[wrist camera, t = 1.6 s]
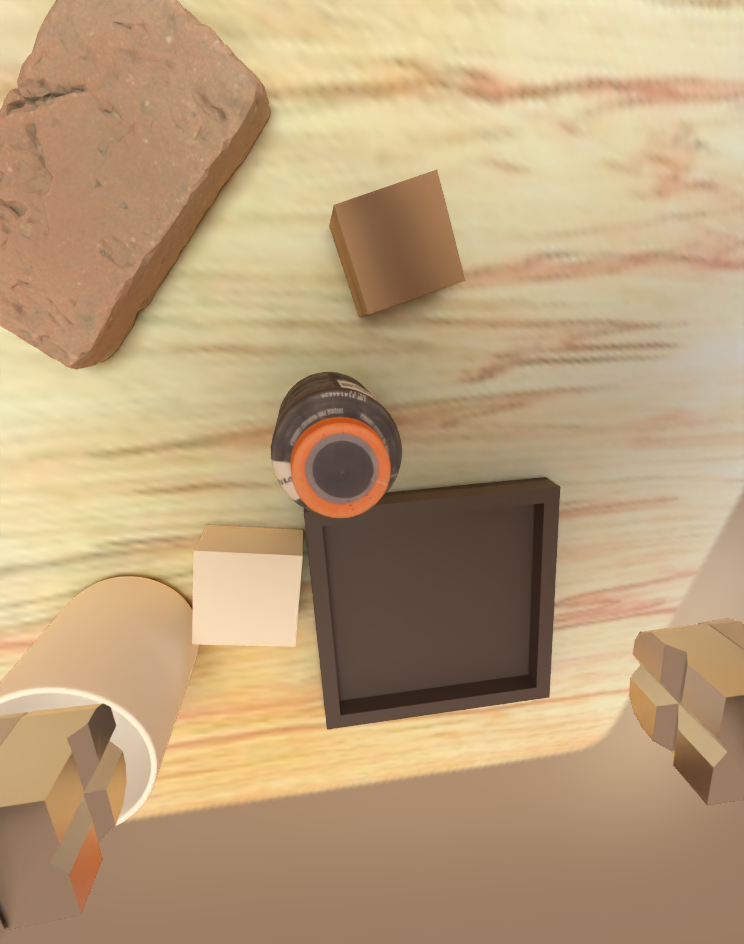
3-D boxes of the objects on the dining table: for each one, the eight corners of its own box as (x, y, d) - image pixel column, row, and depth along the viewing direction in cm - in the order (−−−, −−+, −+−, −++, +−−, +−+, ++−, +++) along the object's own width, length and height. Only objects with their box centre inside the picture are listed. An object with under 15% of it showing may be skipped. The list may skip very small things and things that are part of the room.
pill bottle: (287, 473, 31) (277, 552, 20) (271, 377, 29) (250, 408, 18) (382, 460, 32) (421, 530, 21) (372, 365, 30) (408, 388, 19)
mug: (7, 678, 33) (-130, 840, 22) (115, 545, 31) (20, 654, 21) (123, 739, 35) (47, 910, 25) (229, 618, 33) (195, 748, 23)
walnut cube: (414, 196, 28) (436, 169, 23) (439, 288, 29) (465, 280, 24) (329, 225, 27) (333, 205, 23) (358, 316, 29) (368, 314, 24)
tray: (545, 477, 33) (560, 486, 31) (537, 678, 38) (549, 697, 36) (304, 501, 32) (303, 512, 30) (326, 708, 36) (327, 729, 34)
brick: (134, -20, 24) (93, -100, 19) (280, 114, 26) (274, 71, 21) (-39, 271, 26) (-110, 260, 22) (108, 370, 28) (70, 379, 24)
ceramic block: (303, 528, 32) (302, 555, 29) (296, 610, 34) (295, 646, 30) (207, 523, 31) (193, 550, 28) (205, 607, 33) (192, 644, 29)
